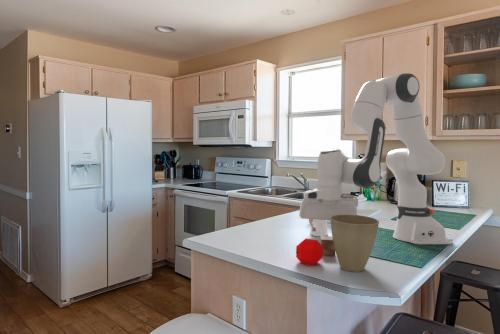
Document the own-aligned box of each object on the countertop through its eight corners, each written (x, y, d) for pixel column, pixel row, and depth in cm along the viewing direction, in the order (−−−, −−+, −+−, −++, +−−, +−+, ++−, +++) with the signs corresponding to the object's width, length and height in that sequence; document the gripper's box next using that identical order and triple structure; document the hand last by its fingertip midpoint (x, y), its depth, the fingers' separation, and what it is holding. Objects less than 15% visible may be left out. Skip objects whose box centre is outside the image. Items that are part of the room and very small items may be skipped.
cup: (331, 238, 148) (332, 203, 148) (306, 236, 151) (307, 202, 150) (330, 232, 159) (331, 199, 158) (307, 230, 161) (307, 198, 160)
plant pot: (325, 272, 107) (326, 221, 106) (332, 258, 121) (333, 213, 120) (376, 279, 102) (378, 225, 101) (377, 264, 116) (379, 216, 115)
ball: (301, 257, 121) (301, 236, 121) (324, 261, 118) (324, 239, 117) (293, 264, 114) (294, 241, 114) (317, 268, 110) (318, 245, 110)
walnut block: (333, 252, 128) (334, 236, 128) (335, 256, 123) (335, 240, 123) (319, 251, 129) (320, 235, 128) (320, 256, 124) (321, 239, 123)
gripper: (356, 194, 126) (355, 231, 127) (300, 191, 129) (298, 228, 130) (360, 196, 120) (358, 236, 121) (300, 193, 123) (298, 232, 123)
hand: (326, 232), depth 125 cm, fingers open, 8 cm apart
